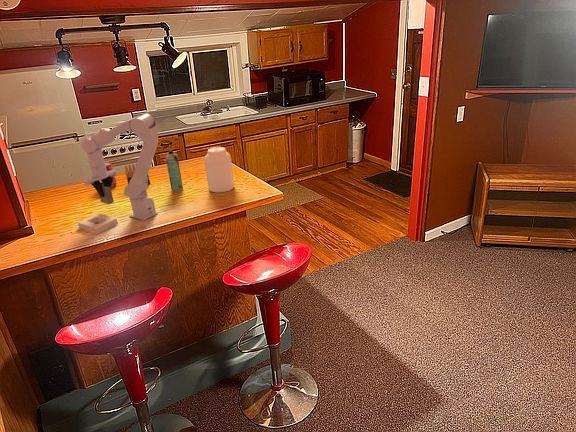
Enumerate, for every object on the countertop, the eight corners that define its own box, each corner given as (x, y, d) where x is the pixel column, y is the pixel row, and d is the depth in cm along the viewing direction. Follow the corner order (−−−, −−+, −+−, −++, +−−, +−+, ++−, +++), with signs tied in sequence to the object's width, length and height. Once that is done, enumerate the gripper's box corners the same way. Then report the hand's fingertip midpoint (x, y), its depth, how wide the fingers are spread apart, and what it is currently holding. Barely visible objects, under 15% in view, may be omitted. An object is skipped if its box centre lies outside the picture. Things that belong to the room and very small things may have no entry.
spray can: (184, 187, 211) (177, 148, 203) (180, 191, 207) (174, 152, 198) (173, 187, 212) (166, 148, 203) (170, 191, 207) (162, 152, 198)
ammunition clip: (128, 187, 215) (123, 165, 210) (128, 186, 216) (123, 164, 211) (150, 183, 219) (145, 161, 214) (149, 182, 220) (145, 160, 215)
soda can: (114, 188, 215) (108, 166, 209) (100, 189, 215) (94, 166, 210) (119, 183, 221) (114, 161, 216) (106, 184, 221) (100, 162, 216)
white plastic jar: (237, 190, 205) (232, 150, 196) (211, 195, 201) (206, 154, 192) (230, 181, 215) (226, 143, 207) (206, 186, 212) (200, 147, 203)
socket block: (117, 223, 178) (116, 218, 177) (97, 234, 170) (95, 228, 169) (99, 218, 184) (98, 213, 183) (79, 227, 176) (77, 222, 175)
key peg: (106, 199, 187) (102, 184, 184) (113, 202, 184) (110, 186, 181) (101, 202, 185) (97, 186, 182) (108, 204, 182) (105, 189, 179)
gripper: (106, 159, 185) (113, 188, 191) (76, 169, 174) (84, 199, 180) (116, 161, 181) (123, 190, 187) (86, 172, 170) (95, 202, 176)
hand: (105, 195), depth 183 cm, fingers closed on key peg, 3 cm apart
